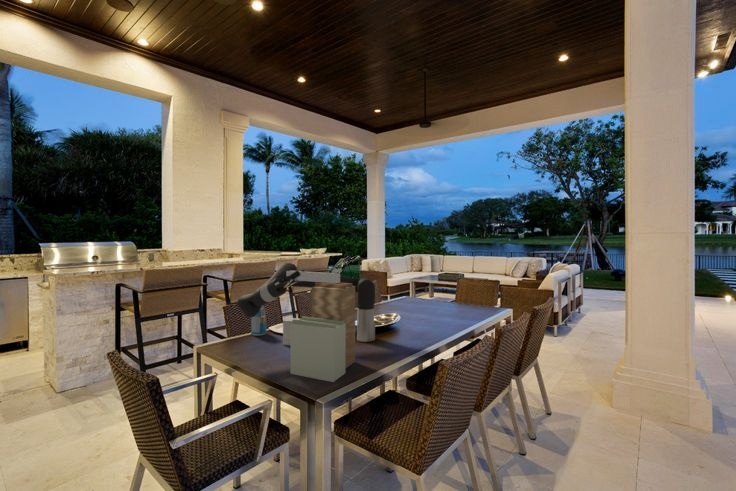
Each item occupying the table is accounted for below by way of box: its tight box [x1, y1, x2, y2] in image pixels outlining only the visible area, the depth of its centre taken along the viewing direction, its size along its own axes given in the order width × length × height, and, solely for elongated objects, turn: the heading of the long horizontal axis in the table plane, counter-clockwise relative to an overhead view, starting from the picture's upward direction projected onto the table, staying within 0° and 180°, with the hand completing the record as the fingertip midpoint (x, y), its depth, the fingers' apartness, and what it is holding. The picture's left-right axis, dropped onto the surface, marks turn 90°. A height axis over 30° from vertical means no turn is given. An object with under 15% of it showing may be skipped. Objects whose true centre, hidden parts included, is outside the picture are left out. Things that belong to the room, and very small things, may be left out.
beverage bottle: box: [250, 305, 267, 337], centre depth 203 cm, size 8×8×20 cm
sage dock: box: [289, 315, 346, 383], centre depth 145 cm, size 20×10×22 cm, turn 65°
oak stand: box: [311, 282, 356, 369], centre depth 156 cm, size 15×12×36 cm
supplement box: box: [282, 317, 302, 346], centre depth 185 cm, size 7×7×13 cm
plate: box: [268, 322, 283, 335], centre depth 213 cm, size 27×27×2 cm
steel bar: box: [286, 270, 341, 283], centre depth 145 cm, size 24×4×4 cm, turn 65°
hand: (301, 272), depth 148 cm, fingers closed on steel bar, 3 cm apart
